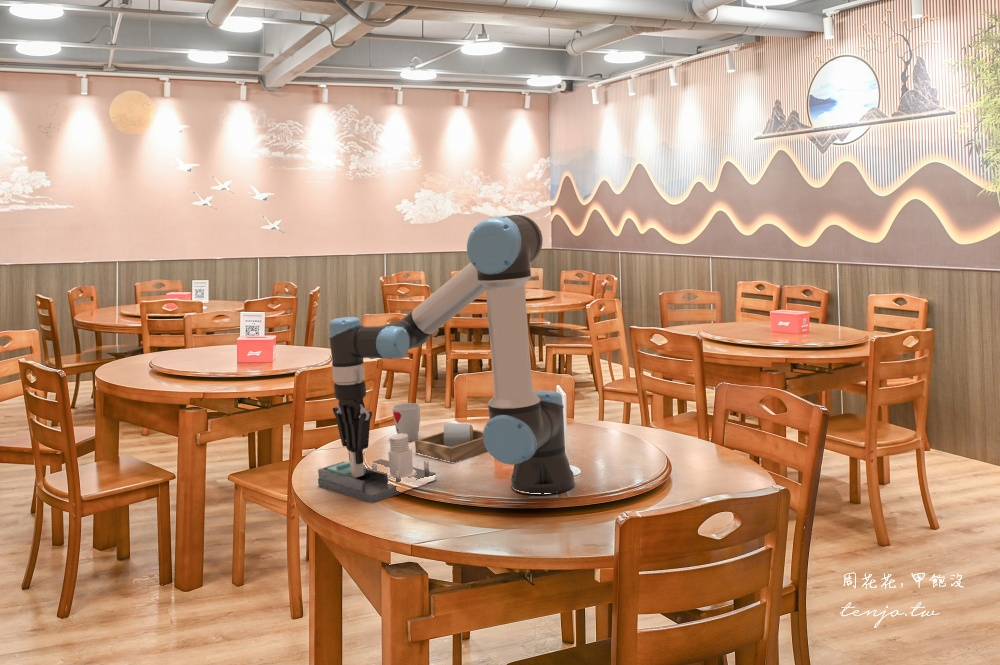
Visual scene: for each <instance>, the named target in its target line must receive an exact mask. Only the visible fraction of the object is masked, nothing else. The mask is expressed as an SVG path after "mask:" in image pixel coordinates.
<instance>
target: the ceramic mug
mask: <svg viewBox="0 0 1000 665" xmlns="http://www.w3.org/2000/svg"><path fill="white" fill-rule="evenodd" d="M473 429H474V427H473V425H472V424H470V423H456V422H455V423H454V422H453V423H451V422H445V423H444V424H443V432H444V446H449V447H454V446H457V445H460V444H463V443H466V442H469V441H472V440H473Z"/></svg>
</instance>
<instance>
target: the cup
mask: <svg viewBox="0 0 1000 665" xmlns="http://www.w3.org/2000/svg"><path fill="white" fill-rule="evenodd" d="M391 409H392V416H393V422H394V426H395V430H396V431H395V432H396V434H400V433H403V434H407V435H408V442H413V441H414V442H415V440H418V436H419V431H420V423H421V405H420V404H419V403H413V402H408V403H407V402H404V403H400V404H399V403H398V404H395V405H393V406H392V408H391Z"/></svg>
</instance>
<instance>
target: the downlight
mask: <svg viewBox="0 0 1000 665" xmlns="http://www.w3.org/2000/svg"><path fill="white" fill-rule="evenodd" d="M388 439H389V448H388V449H387V454H388V461H389V468H390V472H388V476H389V477H393V478H395V471H396V470H400V477H401V478H405V477H410V476H413V475H414V474H415V473H416V471H415V470H414V469H413V467H414V464H413V452H412V447H411V446H410V444H409V442H410V441H408V435H407V434H403V433H400V434H397V433H394V434H391V435H389V438H388Z"/></svg>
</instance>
